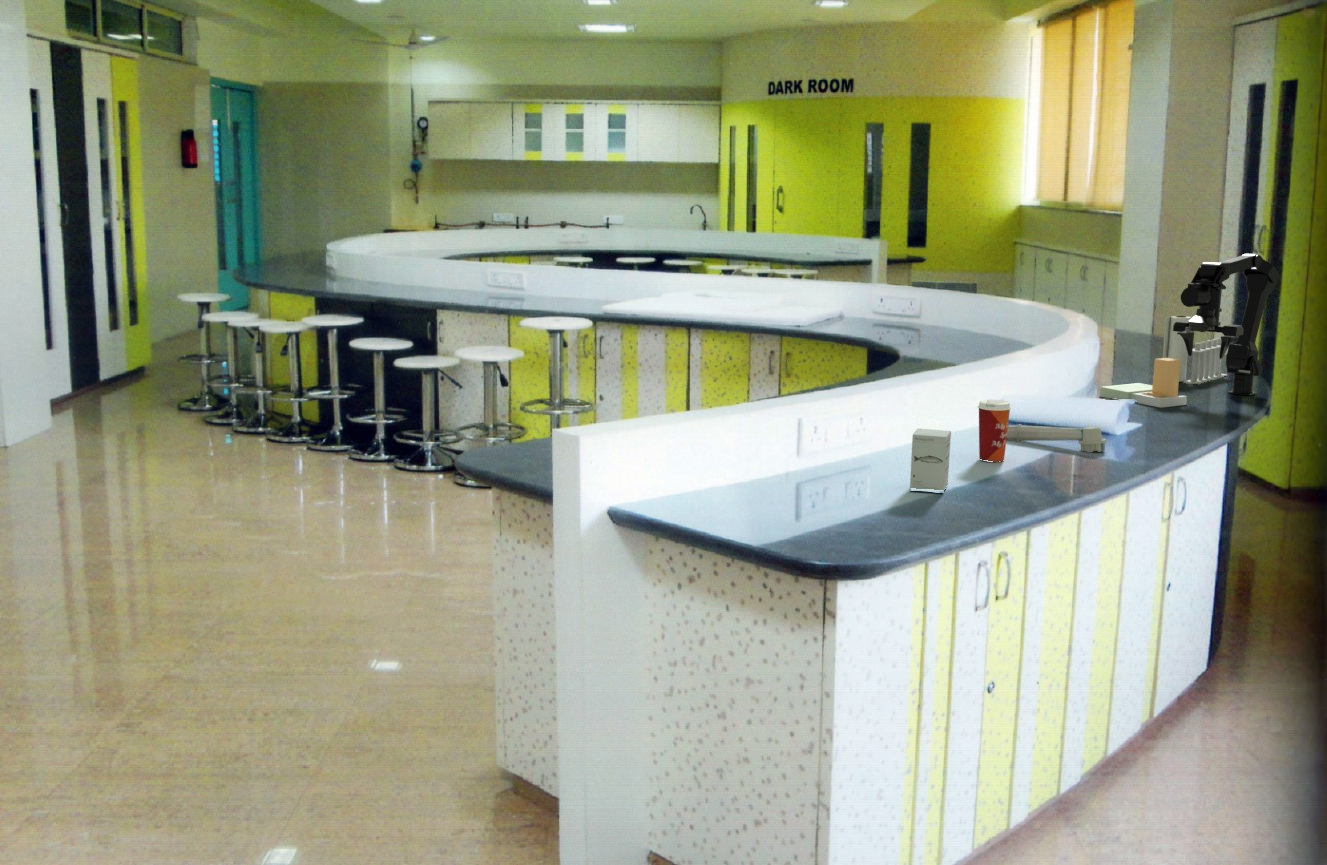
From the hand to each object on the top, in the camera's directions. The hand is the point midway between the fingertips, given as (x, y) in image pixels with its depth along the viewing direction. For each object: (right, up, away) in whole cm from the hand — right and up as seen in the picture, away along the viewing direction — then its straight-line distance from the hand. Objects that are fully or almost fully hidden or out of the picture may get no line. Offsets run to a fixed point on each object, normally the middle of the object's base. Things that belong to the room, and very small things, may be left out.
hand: (1205, 357), depth 356 cm
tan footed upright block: (-13, -14, -1) cm, 19 cm away
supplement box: (-105, -35, -101) cm, 150 cm away
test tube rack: (+18, -5, +40) cm, 44 cm away
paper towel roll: (+7, -6, +38) cm, 39 cm away
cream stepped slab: (-16, -13, +3) cm, 21 cm away
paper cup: (-84, -29, -74) cm, 116 cm away
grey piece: (-65, -26, -58) cm, 91 cm away
